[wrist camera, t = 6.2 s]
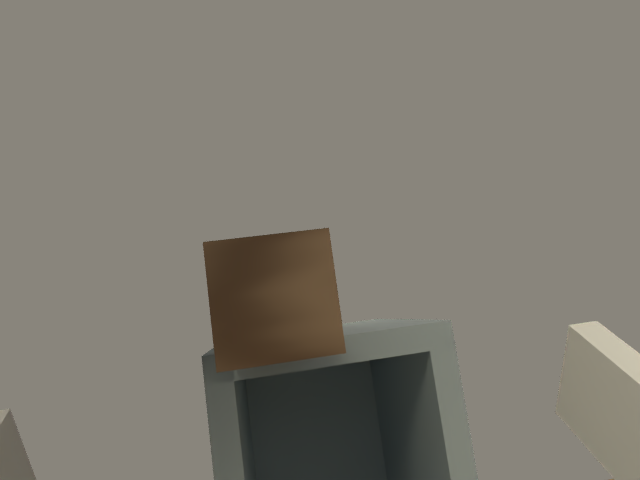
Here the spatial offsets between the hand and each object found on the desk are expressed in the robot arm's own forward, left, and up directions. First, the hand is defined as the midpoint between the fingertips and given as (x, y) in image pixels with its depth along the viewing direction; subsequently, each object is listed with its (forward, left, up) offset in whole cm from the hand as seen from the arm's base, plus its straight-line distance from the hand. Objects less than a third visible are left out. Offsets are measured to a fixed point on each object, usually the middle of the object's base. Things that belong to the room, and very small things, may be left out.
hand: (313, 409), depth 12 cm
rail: (-1, +11, +1) cm, 11 cm away
